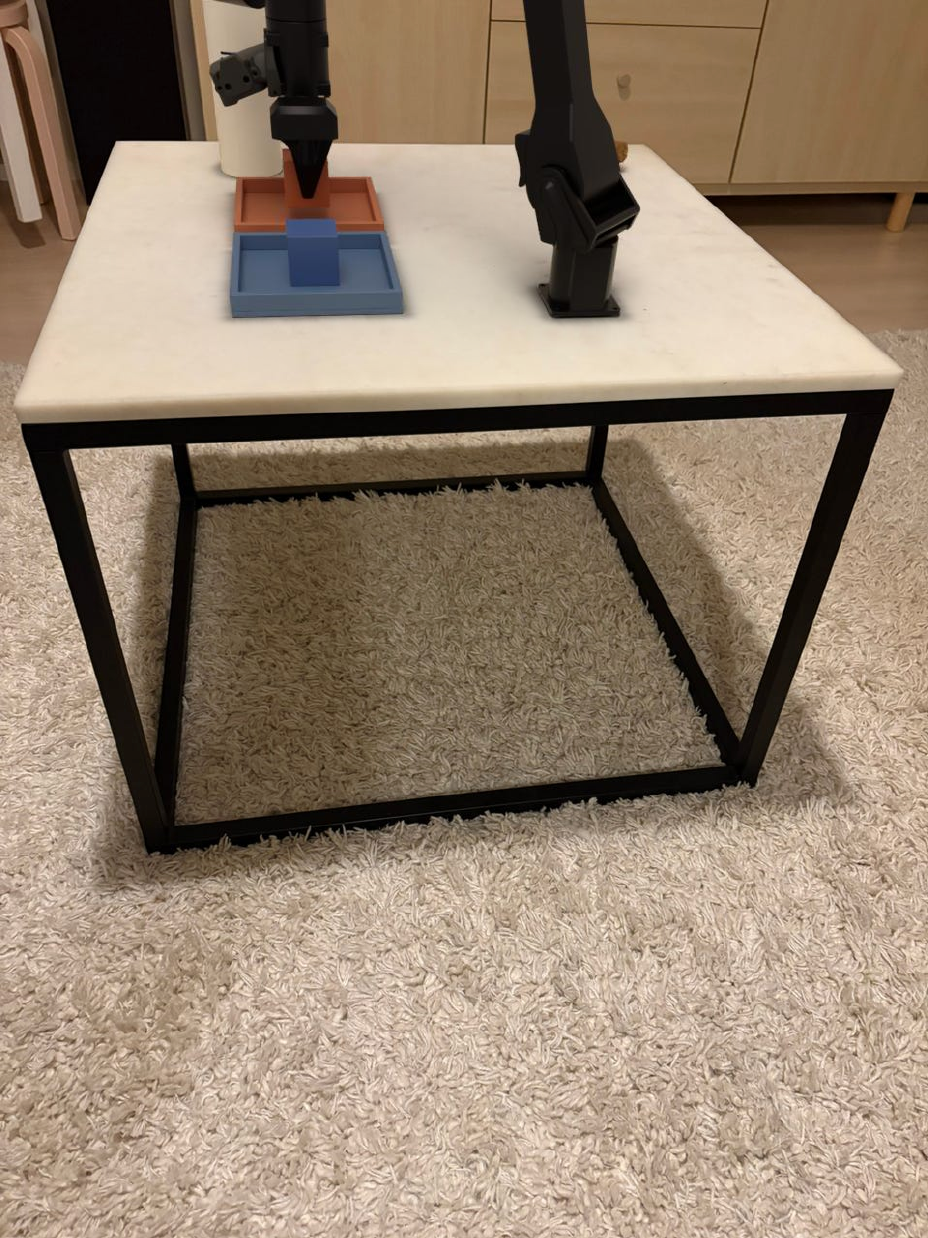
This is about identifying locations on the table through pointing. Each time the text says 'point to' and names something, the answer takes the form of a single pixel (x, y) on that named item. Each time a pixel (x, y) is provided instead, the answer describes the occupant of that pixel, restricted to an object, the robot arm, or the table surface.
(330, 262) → the blue block
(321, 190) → the clay block
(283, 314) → the blue tray
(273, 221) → the clay tray
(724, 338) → the table surface
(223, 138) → the cylindrical container
